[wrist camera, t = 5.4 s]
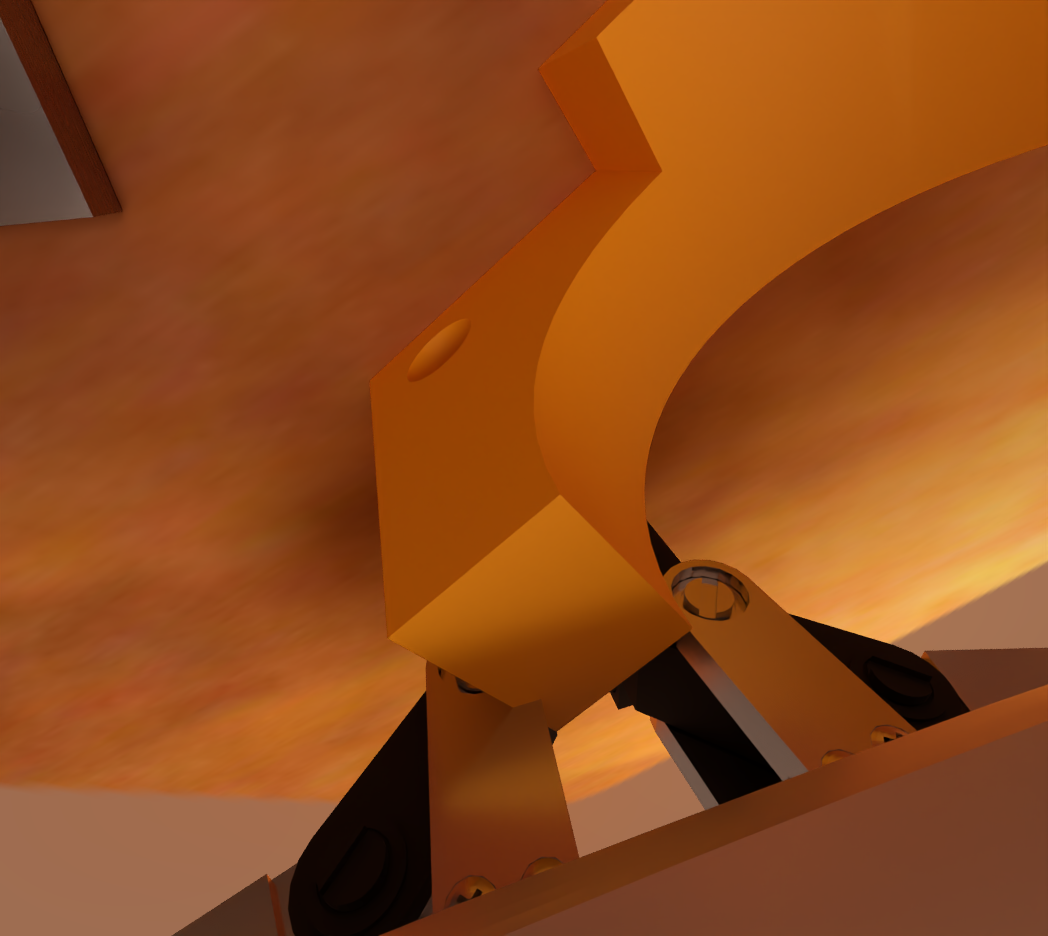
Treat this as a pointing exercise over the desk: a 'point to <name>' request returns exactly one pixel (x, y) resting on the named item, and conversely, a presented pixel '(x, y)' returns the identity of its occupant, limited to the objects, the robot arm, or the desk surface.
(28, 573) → the desk surface
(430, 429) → the pipe clamp
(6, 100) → the cylinder with tray top
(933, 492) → the desk surface
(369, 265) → the desk surface
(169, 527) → the desk surface
